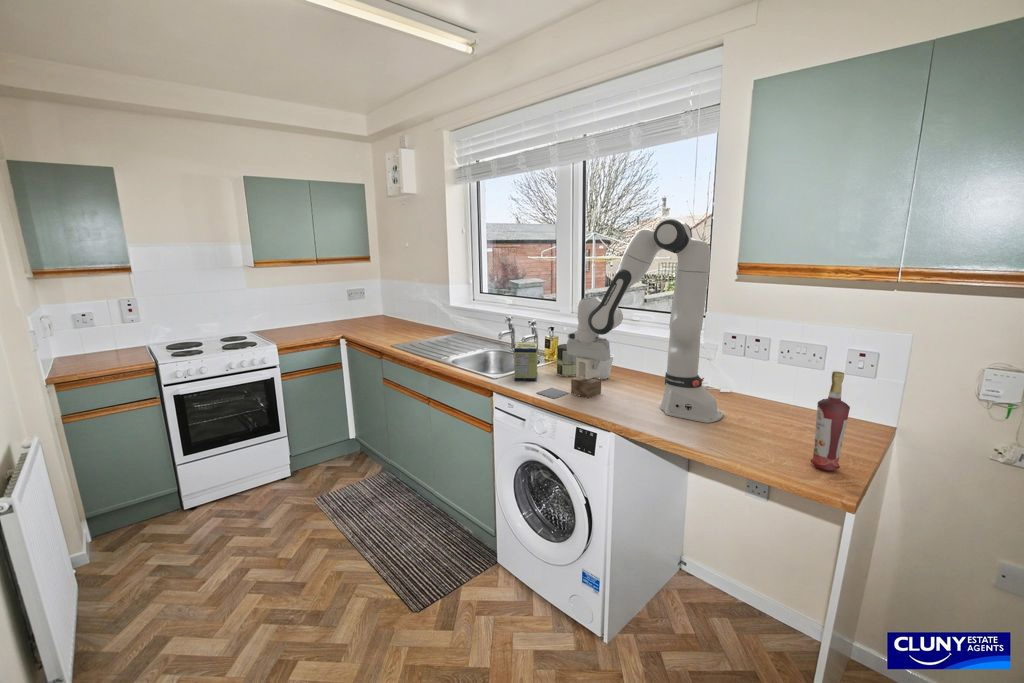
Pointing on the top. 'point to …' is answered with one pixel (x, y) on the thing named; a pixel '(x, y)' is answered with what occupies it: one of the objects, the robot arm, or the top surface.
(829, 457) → the liquor
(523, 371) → the protein box
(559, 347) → the coffee can
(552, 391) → the mat
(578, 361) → the cream square bin
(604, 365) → the cup
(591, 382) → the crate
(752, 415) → the top surface
